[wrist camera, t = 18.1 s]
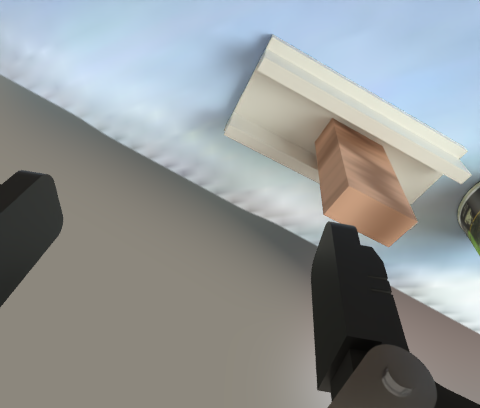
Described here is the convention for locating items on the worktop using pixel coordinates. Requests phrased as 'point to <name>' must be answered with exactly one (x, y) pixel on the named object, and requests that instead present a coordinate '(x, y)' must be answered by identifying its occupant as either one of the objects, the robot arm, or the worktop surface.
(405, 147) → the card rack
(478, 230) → the coffee can
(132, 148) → the worktop surface
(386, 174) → the wooden card
